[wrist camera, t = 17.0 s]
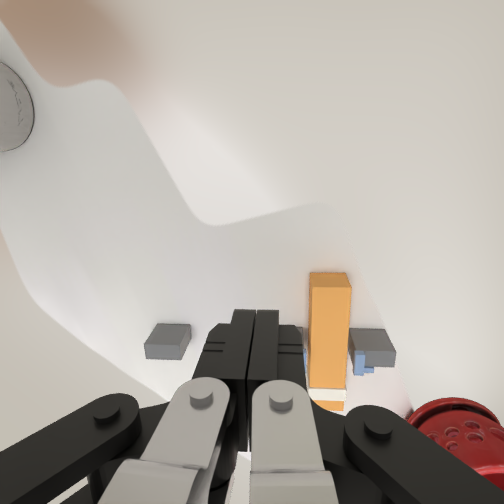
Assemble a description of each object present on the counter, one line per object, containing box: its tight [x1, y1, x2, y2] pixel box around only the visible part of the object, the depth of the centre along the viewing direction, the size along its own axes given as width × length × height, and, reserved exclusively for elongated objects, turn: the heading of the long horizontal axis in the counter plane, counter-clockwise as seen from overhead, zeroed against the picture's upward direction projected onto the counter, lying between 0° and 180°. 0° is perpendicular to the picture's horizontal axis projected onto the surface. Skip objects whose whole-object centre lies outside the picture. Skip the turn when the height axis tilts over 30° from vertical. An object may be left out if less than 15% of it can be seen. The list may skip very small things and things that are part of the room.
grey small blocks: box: [144, 324, 396, 376], centre depth 40 cm, size 28×3×5 cm, turn 91°
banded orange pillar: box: [306, 273, 352, 411], centre depth 40 cm, size 4×16×4 cm, turn 2°
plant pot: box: [407, 397, 504, 491], centre depth 39 cm, size 13×13×12 cm
